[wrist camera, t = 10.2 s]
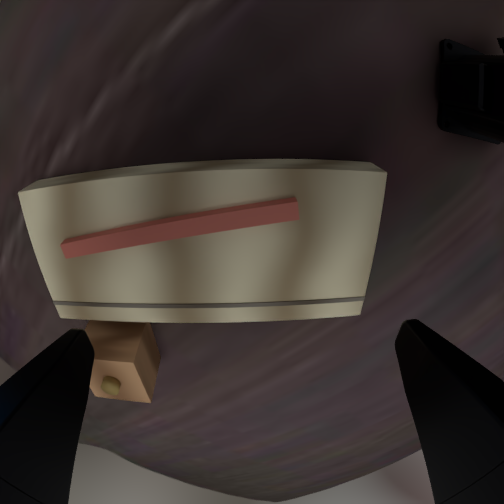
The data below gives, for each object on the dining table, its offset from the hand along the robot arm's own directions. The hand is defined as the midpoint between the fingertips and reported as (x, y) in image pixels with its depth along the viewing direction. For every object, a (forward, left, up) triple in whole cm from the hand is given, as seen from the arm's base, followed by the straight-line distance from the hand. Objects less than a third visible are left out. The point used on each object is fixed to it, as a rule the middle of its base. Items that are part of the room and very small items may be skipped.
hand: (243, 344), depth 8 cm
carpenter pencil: (+4, +1, -10) cm, 10 cm away
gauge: (+10, +12, -12) cm, 20 cm away
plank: (+3, +3, -12) cm, 13 cm away
